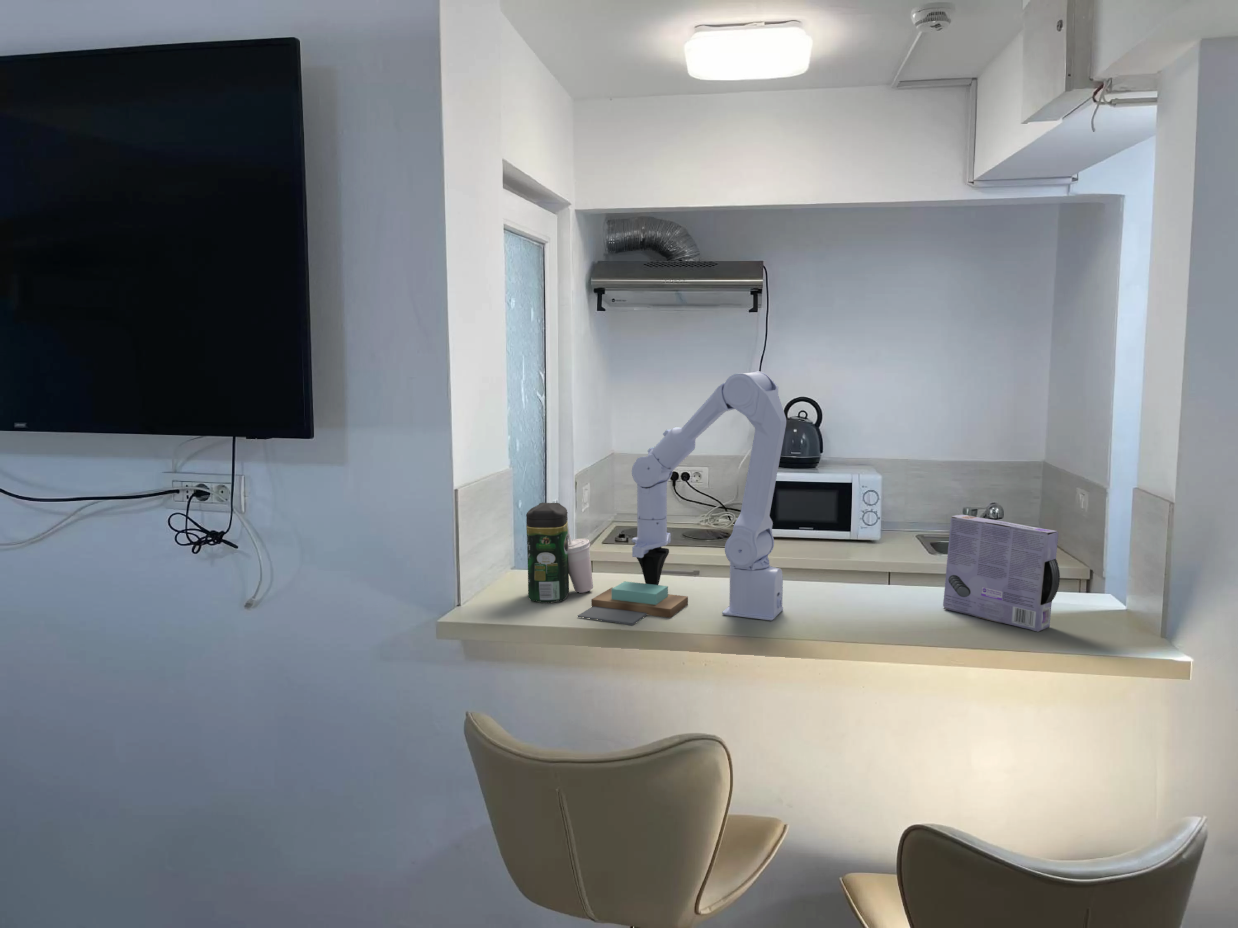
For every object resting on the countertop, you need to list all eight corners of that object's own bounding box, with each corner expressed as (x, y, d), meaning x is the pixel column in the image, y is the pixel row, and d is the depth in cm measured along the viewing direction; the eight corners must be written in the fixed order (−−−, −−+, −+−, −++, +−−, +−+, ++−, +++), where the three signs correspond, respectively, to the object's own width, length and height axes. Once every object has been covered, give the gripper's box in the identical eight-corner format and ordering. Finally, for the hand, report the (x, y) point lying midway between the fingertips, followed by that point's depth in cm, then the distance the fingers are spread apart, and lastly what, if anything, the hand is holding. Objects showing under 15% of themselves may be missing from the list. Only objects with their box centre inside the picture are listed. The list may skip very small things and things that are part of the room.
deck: (687, 604, 176) (687, 596, 175) (670, 617, 168) (670, 609, 167) (611, 595, 182) (611, 587, 182) (591, 607, 174) (591, 599, 174)
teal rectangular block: (667, 596, 176) (667, 586, 175) (655, 604, 170) (655, 594, 170) (624, 591, 179) (624, 581, 179) (611, 599, 174) (611, 588, 174)
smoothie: (564, 590, 187) (548, 525, 184) (593, 580, 189) (578, 515, 186) (574, 597, 181) (558, 530, 178) (604, 587, 183) (589, 520, 180)
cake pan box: (1058, 628, 160) (1064, 528, 158) (1045, 634, 157) (1051, 532, 155) (955, 604, 175) (959, 512, 172) (941, 609, 171) (945, 516, 169)
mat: (647, 614, 169) (647, 612, 169) (632, 625, 163) (632, 623, 163) (593, 608, 174) (593, 605, 174) (577, 617, 168) (577, 615, 168)
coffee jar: (532, 590, 187) (530, 499, 184) (571, 590, 186) (570, 500, 183) (524, 604, 177) (522, 508, 174) (565, 604, 176) (563, 509, 174)
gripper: (647, 509, 186) (647, 574, 188) (617, 522, 173) (617, 592, 175) (680, 511, 183) (680, 578, 185) (652, 525, 170) (652, 597, 172)
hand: (652, 585), depth 180 cm, fingers closed
